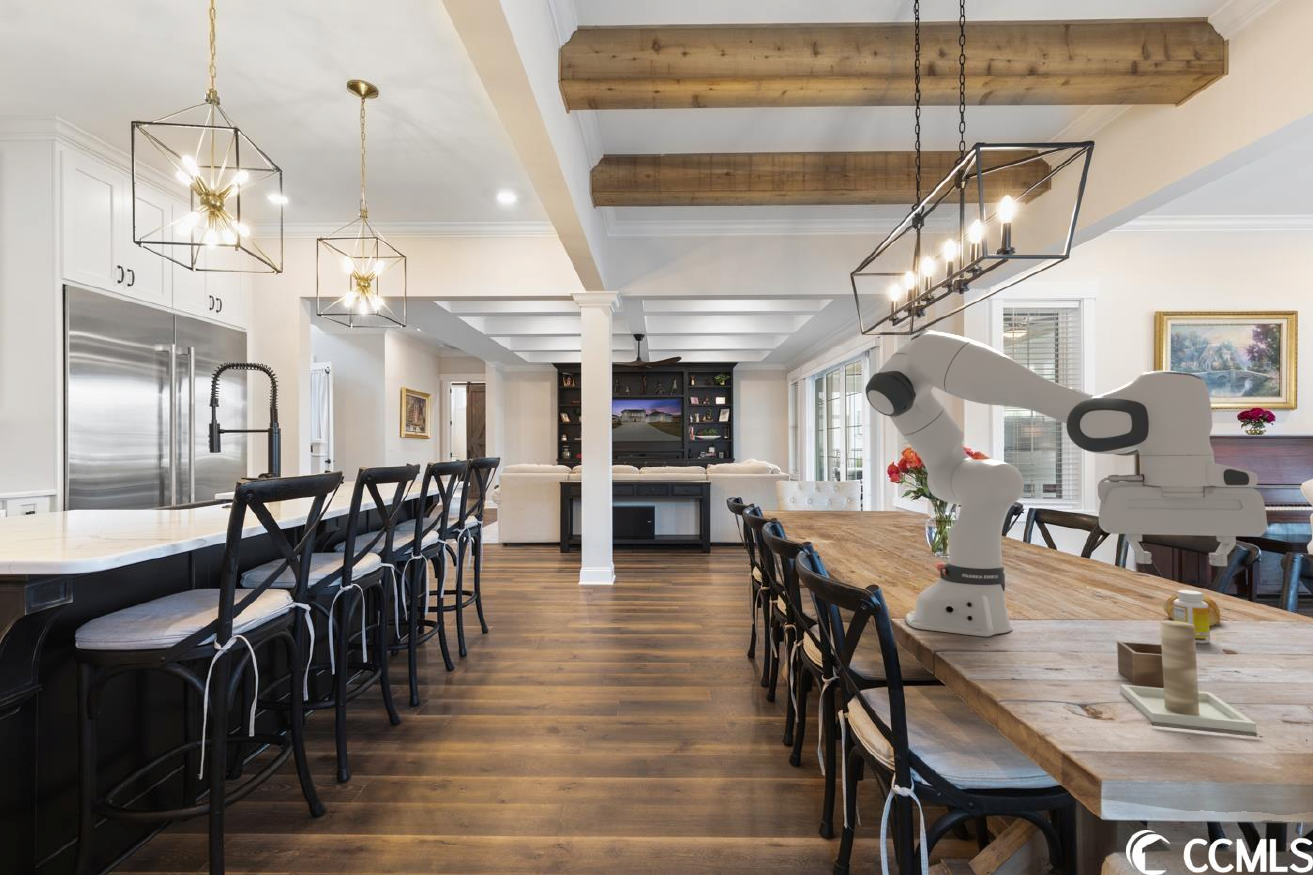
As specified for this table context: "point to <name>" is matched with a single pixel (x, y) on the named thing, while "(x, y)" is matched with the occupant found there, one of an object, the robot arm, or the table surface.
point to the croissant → (1212, 606)
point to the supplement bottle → (1193, 613)
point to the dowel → (1179, 667)
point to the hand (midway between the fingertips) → (1180, 564)
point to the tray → (1210, 715)
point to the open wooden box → (1141, 663)
